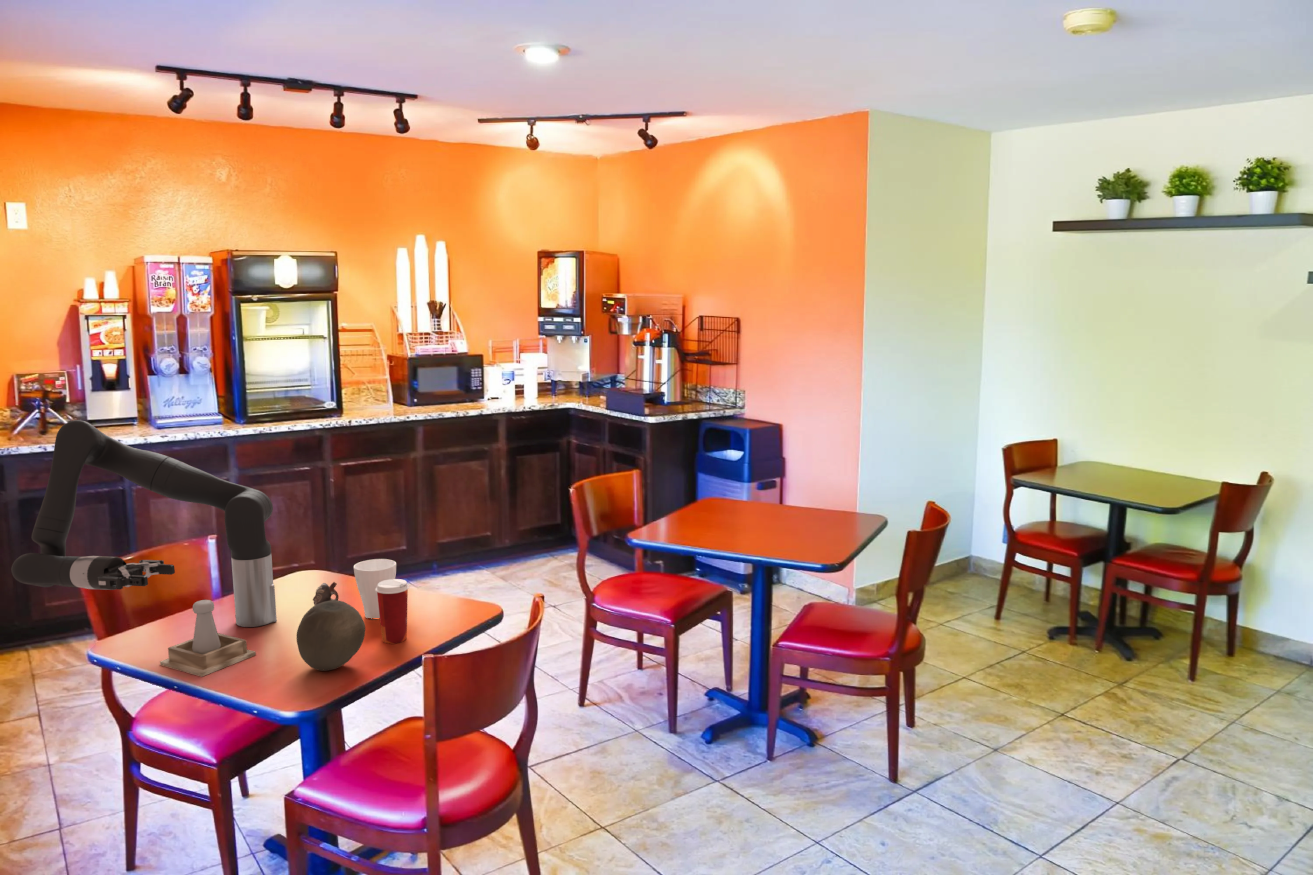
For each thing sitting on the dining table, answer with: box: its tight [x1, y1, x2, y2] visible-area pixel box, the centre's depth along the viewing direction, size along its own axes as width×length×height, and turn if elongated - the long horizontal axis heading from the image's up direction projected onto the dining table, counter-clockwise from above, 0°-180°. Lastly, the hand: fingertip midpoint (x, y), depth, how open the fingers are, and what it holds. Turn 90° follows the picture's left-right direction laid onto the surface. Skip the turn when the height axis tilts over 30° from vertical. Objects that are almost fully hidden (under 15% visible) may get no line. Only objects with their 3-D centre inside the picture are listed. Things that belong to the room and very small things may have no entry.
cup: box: [353, 558, 397, 620], centre depth 242 cm, size 10×10×14 cm
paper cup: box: [376, 578, 410, 644], centre depth 225 cm, size 8×8×14 cm
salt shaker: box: [192, 599, 221, 655], centre depth 212 cm, size 6×6×13 cm
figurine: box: [312, 581, 339, 606], centre depth 231 cm, size 7×7×12 cm
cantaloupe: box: [296, 600, 366, 672], centre depth 208 cm, size 14×14×15 cm
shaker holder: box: [159, 632, 257, 678], centre depth 213 cm, size 14×14×4 cm
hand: (160, 575), depth 213 cm, fingers open, 8 cm apart
